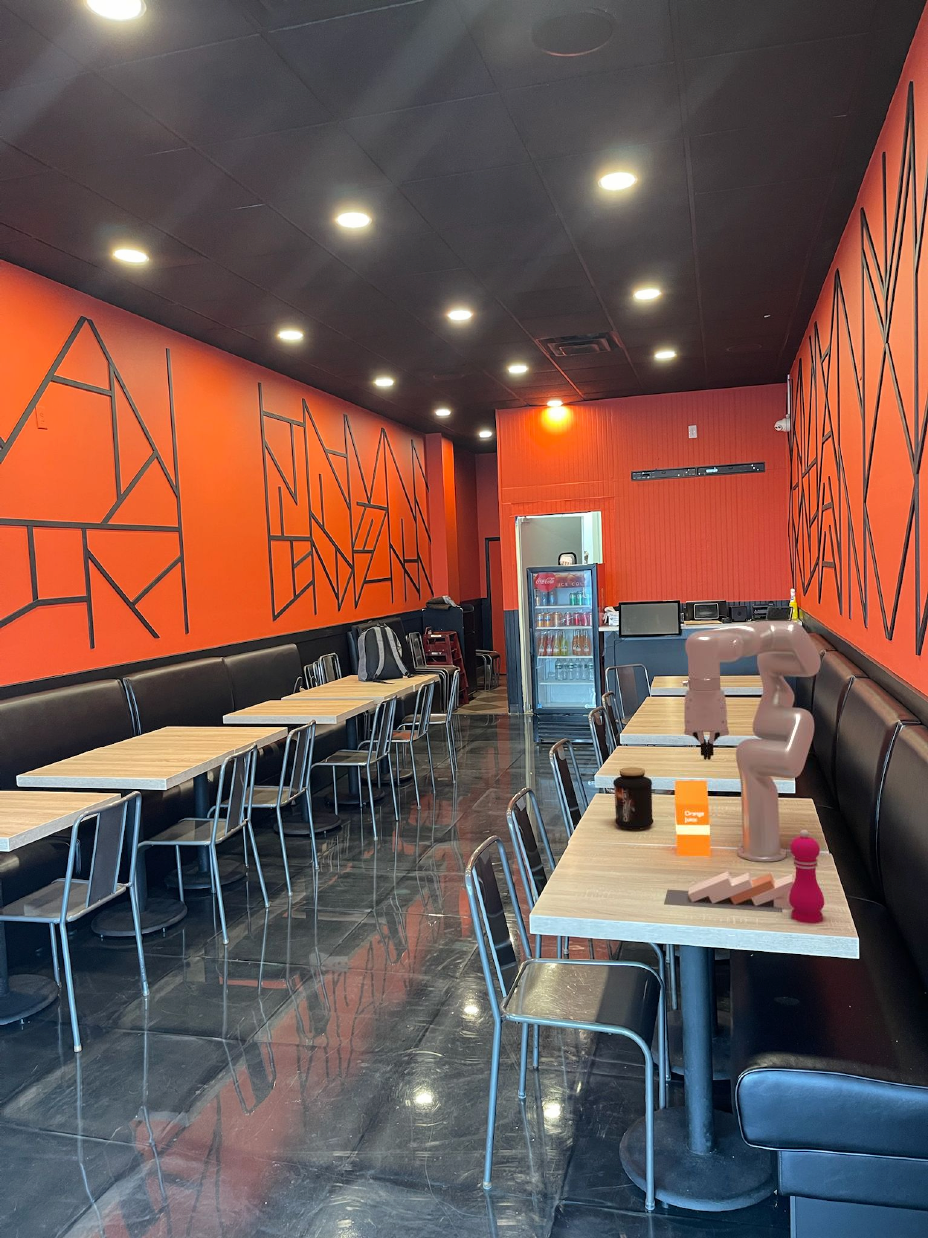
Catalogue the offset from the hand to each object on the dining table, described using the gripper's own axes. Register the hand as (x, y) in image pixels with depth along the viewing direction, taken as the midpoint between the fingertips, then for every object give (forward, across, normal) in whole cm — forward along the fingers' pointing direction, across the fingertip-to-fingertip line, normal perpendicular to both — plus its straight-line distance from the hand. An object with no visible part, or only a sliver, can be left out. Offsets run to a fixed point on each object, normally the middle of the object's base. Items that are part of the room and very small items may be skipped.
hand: (707, 758), depth 216 cm
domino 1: (+30, -4, -14) cm, 33 cm away
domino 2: (+30, 0, -14) cm, 33 cm away
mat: (+31, +3, -14) cm, 34 cm away
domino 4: (+30, +10, -14) cm, 34 cm away
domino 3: (+30, +5, -14) cm, 33 cm away
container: (+31, -25, +46) cm, 61 cm away
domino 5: (+29, +14, -14) cm, 36 cm away
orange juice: (+31, -6, +24) cm, 40 cm away
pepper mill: (+31, +21, -21) cm, 43 cm away
